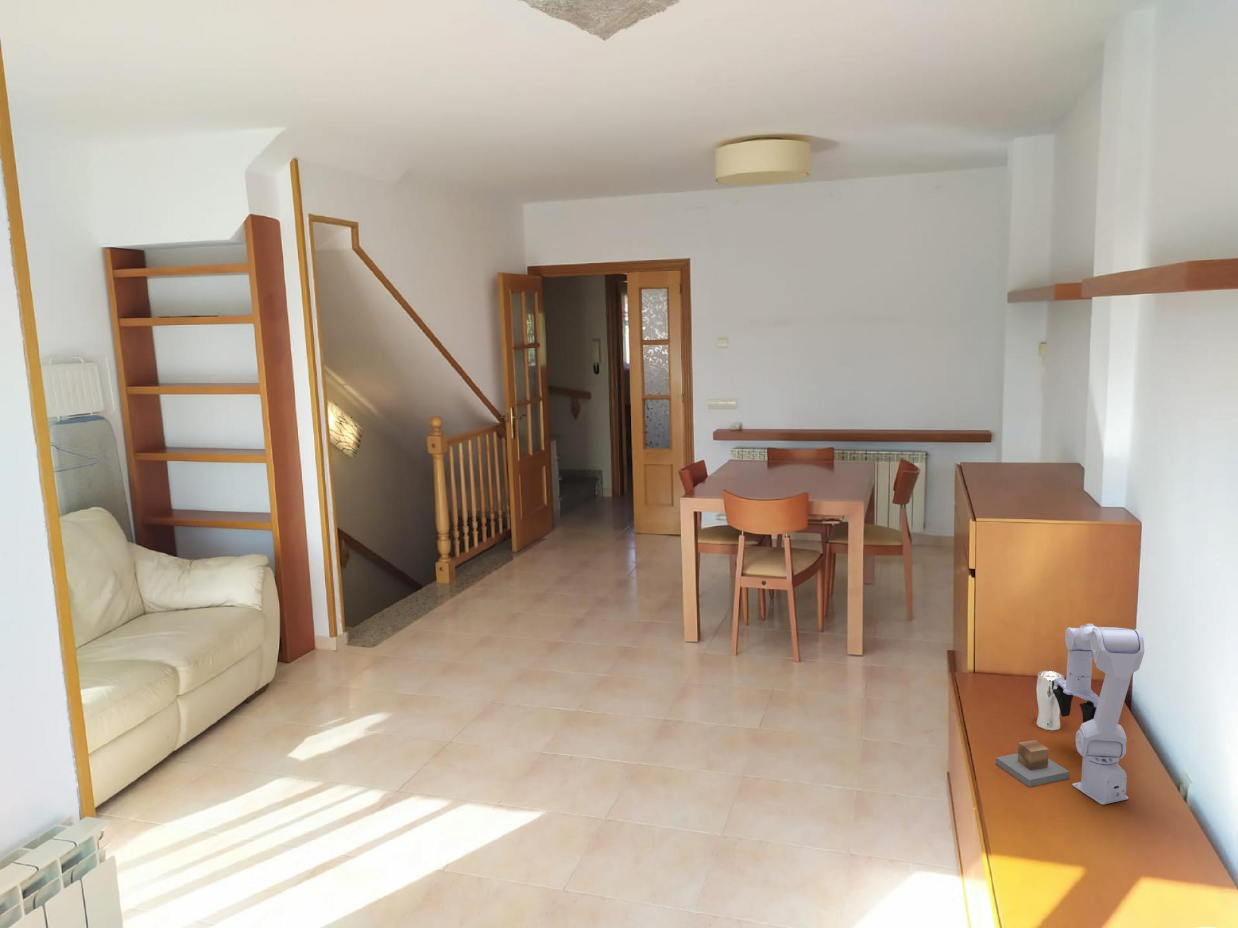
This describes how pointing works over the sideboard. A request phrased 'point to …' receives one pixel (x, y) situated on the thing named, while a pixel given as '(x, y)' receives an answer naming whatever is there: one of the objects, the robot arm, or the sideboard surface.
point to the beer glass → (1048, 701)
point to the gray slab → (1032, 771)
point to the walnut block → (1033, 755)
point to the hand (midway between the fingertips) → (1076, 721)
